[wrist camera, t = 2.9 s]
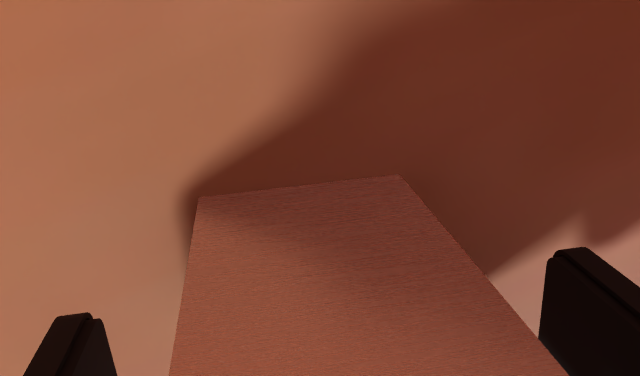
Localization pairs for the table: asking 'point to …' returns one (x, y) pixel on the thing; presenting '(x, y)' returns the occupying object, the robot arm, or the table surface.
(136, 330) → the table surface
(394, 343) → the cube with chrome dome
